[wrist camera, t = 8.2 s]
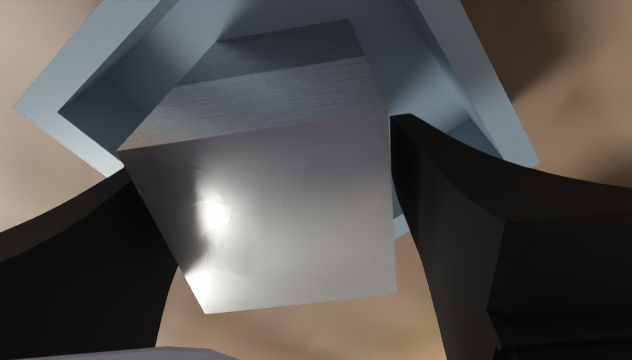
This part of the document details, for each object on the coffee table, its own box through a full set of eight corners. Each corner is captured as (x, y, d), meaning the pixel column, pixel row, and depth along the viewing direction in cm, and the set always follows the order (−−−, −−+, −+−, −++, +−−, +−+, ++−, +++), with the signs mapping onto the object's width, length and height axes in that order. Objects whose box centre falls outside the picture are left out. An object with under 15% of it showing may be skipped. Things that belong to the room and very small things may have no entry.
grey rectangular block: (349, 18, 13) (388, 111, 6) (361, 139, 16) (396, 293, 9) (215, 41, 14) (115, 150, 7) (250, 155, 17) (205, 314, 10)
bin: (495, 116, 16) (540, 162, 13) (281, 243, 21) (275, 301, 18) (323, -205, 10) (327, -266, 7) (77, 68, 15) (11, 107, 12)
